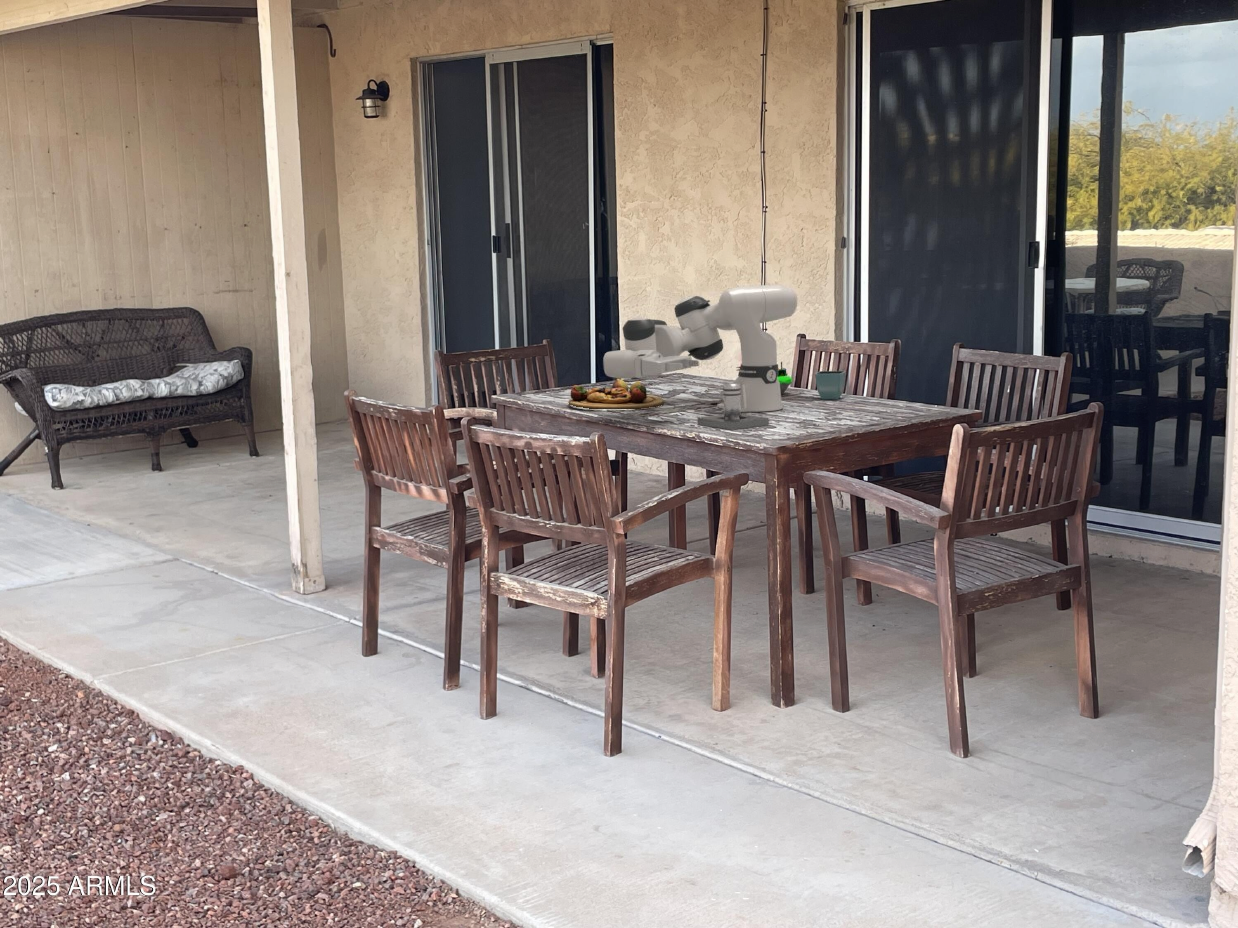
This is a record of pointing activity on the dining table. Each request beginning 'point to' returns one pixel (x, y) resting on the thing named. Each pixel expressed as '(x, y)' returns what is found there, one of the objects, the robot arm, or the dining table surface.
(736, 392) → the white pepper mill
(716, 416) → the bore block
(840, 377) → the flower pot
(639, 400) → the wooden plate with food
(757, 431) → the dining table surface
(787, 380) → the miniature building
